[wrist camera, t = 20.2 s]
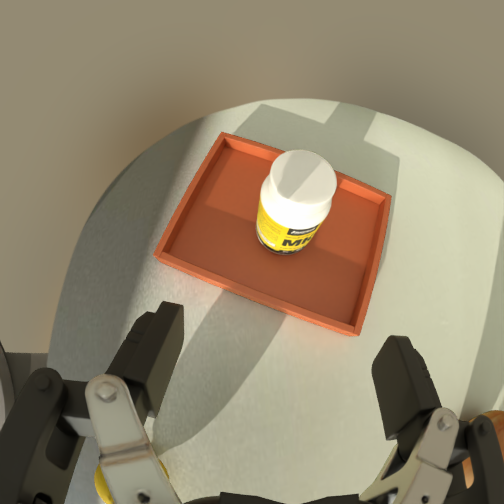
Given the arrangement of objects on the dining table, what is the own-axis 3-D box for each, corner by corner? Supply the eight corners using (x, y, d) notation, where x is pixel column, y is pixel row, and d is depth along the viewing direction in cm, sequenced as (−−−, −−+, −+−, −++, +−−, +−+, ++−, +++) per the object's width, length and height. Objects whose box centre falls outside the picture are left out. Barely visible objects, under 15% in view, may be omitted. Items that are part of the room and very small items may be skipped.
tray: (159, 261, 23) (152, 254, 21) (222, 144, 26) (221, 131, 24) (350, 336, 21) (359, 336, 19) (383, 204, 25) (391, 195, 23)
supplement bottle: (277, 267, 22) (296, 228, 14) (244, 221, 23) (246, 164, 15) (322, 237, 23) (358, 188, 15) (289, 195, 24) (309, 133, 16)
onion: (493, 425, 17) (548, 434, 8) (445, 490, 15) (494, 516, 6) (468, 389, 19) (535, 395, 10) (413, 464, 17) (472, 498, 7)
